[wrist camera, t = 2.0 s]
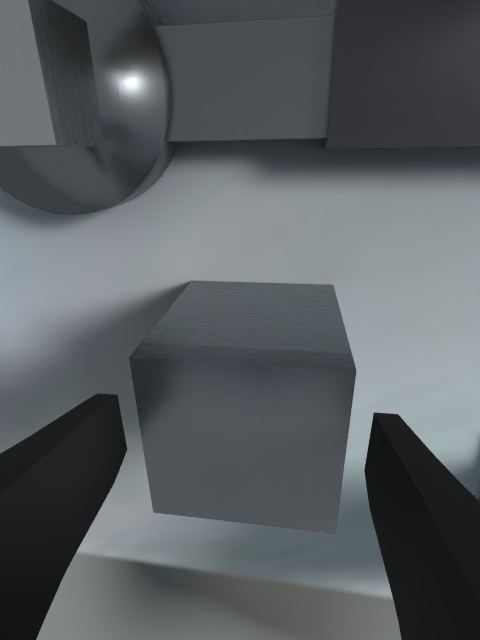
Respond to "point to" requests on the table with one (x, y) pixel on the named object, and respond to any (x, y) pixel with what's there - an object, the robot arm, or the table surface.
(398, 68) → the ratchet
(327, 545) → the table surface
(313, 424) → the grey brushed cube
